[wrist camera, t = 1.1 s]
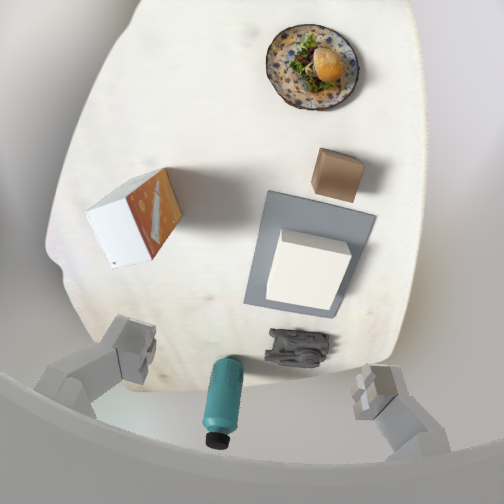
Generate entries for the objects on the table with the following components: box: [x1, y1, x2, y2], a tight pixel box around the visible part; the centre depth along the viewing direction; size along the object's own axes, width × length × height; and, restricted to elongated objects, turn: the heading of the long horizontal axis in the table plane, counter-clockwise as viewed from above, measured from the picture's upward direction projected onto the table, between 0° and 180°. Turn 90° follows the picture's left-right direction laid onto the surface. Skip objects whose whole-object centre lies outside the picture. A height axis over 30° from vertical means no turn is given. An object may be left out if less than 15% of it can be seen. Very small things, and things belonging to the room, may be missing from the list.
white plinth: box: [266, 228, 352, 310], centre depth 44 cm, size 10×10×4 cm
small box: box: [85, 168, 183, 269], centre depth 37 cm, size 8×6×13 cm
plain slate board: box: [244, 191, 375, 319], centre depth 46 cm, size 20×16×1 cm
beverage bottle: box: [202, 358, 244, 450], centre depth 51 cm, size 6×7×20 cm
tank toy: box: [264, 328, 329, 368], centre depth 54 cm, size 12×10×5 cm
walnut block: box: [311, 148, 364, 203], centre depth 37 cm, size 5×5×5 cm
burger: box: [266, 24, 360, 111], centre depth 29 cm, size 12×12×8 cm
